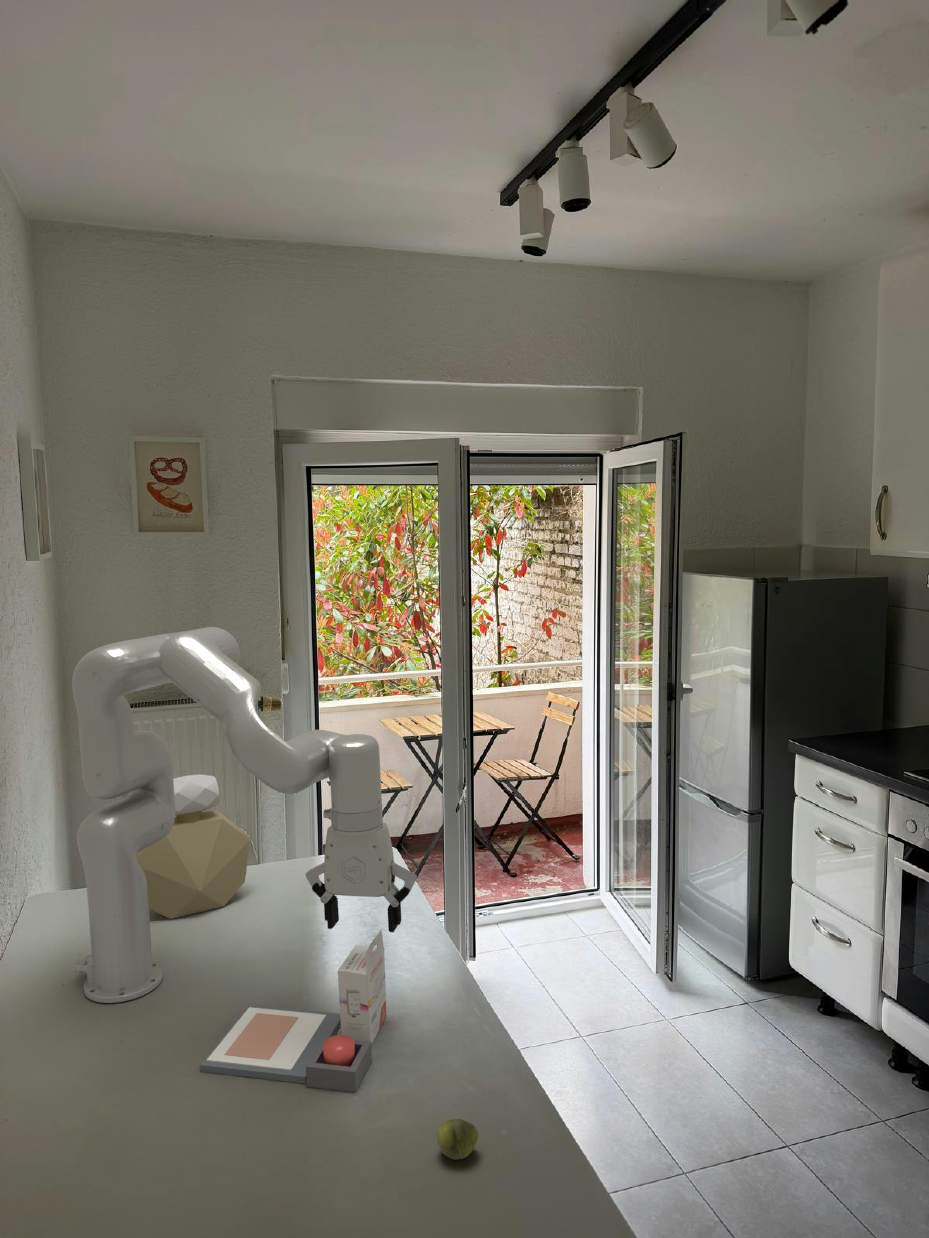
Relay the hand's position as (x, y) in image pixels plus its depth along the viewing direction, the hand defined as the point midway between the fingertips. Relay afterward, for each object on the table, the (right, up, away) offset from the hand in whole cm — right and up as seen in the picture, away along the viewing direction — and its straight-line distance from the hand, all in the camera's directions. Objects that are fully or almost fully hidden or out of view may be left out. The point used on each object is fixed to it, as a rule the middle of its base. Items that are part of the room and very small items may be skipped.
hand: (363, 926), depth 133 cm
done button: (-2, -16, -9) cm, 19 cm away
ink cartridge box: (0, -17, +2) cm, 17 cm away
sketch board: (-13, -17, -1) cm, 22 cm away
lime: (+15, -20, -25) cm, 35 cm away
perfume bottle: (-40, -13, +47) cm, 63 cm away
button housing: (-2, -18, -9) cm, 20 cm away
